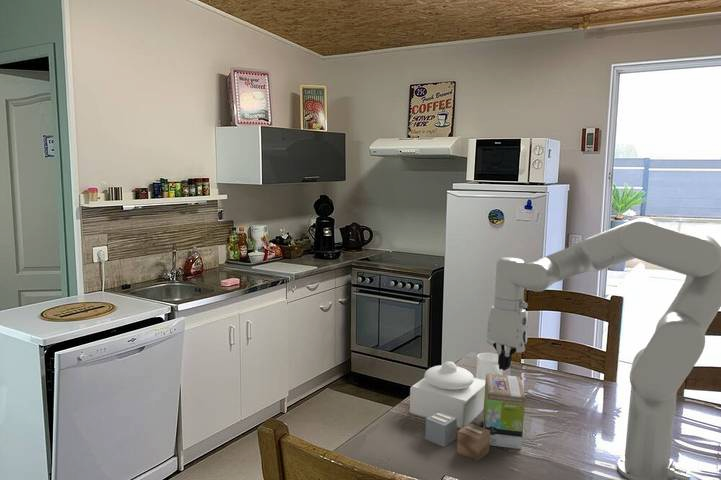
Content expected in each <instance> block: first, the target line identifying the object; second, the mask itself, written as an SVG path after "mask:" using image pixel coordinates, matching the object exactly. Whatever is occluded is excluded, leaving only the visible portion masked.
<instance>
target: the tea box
mask: <svg viewBox="0 0 721 480" xmlns="http://www.w3.org/2000/svg"><path fill="white" fill-rule="evenodd" d="M521 379H522V378H521V376H515V375H505V374H503V375H496V374H486V382H485V397H484V410H483V417H482V418H483V420H482V421H483V422H482V423H483V428H485V429H488V430H490V445H489V446H494V447H500V448H501V447H502V448H508V449H509V448H510V449H517V450H519V449H522V447H523V436H524V435H523V434H524V433H523V432H524V422H525V421H524V420H525V410H526V409H525V408H526V395H525V394H526V393H525V391H524V386H523V383H522V380H521Z"/></svg>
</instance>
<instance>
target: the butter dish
mask: <svg viewBox="0 0 721 480" xmlns="http://www.w3.org/2000/svg"><path fill="white" fill-rule="evenodd" d="M485 382H486V381H485V380H481V379H477V378H476V377H475V376H474V375H473V374H472V373H471V372H470V371H469V370H468V369H466V368H463V367H460V366H458V365H456V364H455V363H454V361H449V360H448V361H445V362H444V363H442V364H441V365H440V364H439V365H434V366H432V367H429V368H428V369H427V370H426V371H424V377H423V378H422V379H420V380H419V381H417V382H416V383H415V384H413V385H412V386H411V387H410V389H409V413H410V414H413V415H415V416H419V417H421V418H425V419H426V418H428V417H430V416H431V415H433V414H435V413H436V412H438V411H439V412H442V413H444V414H447V415H450V416H452V417H455V418H457V429H462V428H463V427H465V426H466V425H468V424H469V423H471V424H472V422H473V421H474V420H475V419H476V418H477V417H478V416H479V415H480V414H481V413H482V412H484V397H485Z"/></svg>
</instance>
